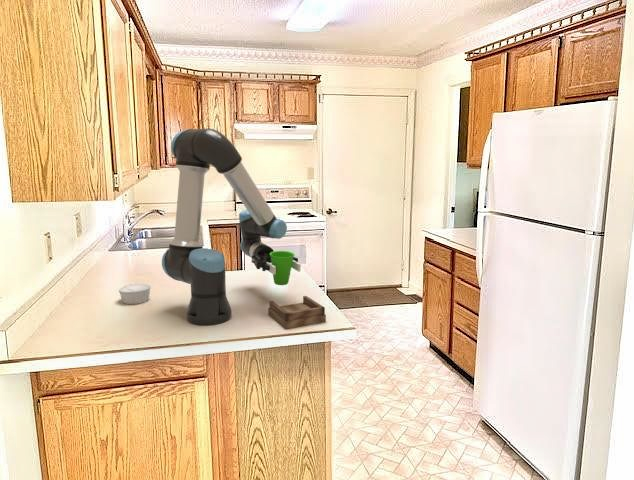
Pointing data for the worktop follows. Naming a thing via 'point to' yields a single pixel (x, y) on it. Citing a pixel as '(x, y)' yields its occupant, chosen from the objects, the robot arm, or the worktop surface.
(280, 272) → the cup
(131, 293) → the ramekin
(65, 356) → the worktop surface
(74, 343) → the worktop surface
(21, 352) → the worktop surface
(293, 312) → the wooden tray
